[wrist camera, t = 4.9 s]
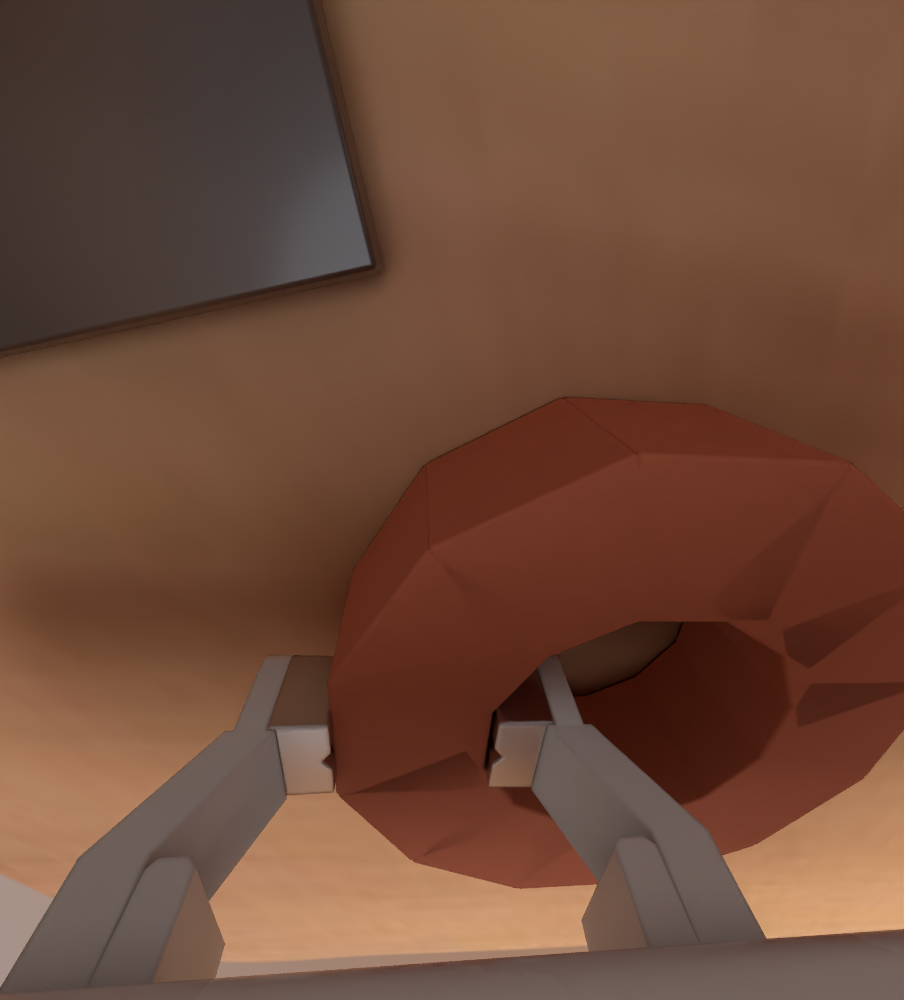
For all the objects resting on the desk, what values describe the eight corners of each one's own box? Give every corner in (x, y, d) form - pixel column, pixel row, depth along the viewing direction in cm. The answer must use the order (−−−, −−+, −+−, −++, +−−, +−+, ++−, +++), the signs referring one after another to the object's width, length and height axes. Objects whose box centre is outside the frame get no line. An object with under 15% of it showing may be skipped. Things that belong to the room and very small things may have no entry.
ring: (892, 413, 9) (1117, 473, 6) (710, 753, 14) (787, 874, 11) (345, 383, 8) (303, 439, 5) (361, 763, 13) (345, 899, 10)
